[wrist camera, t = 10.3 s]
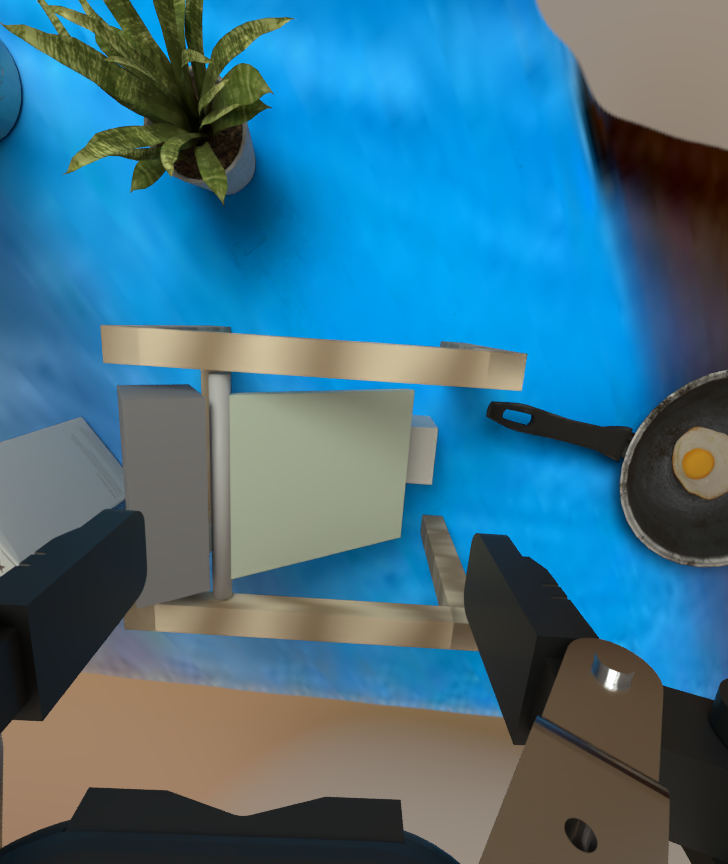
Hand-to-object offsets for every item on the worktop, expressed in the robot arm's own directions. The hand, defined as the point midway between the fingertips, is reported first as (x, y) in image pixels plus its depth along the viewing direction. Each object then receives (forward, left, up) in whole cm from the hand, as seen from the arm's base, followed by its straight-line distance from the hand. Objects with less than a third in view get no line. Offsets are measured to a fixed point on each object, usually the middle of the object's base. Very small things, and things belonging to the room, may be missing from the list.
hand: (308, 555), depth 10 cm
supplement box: (-26, -11, -30) cm, 42 cm away
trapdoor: (-6, -5, -21) cm, 22 cm away
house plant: (-11, +19, -30) cm, 37 cm away
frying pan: (+28, -4, -31) cm, 41 cm away
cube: (+3, -5, -28) cm, 28 cm away
